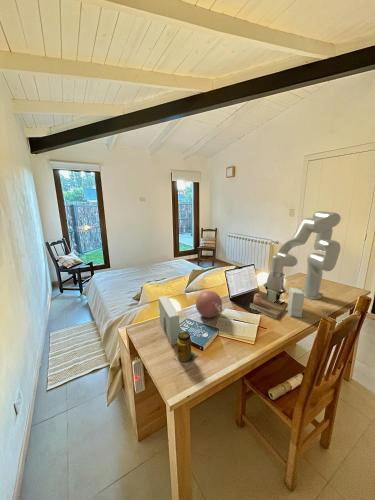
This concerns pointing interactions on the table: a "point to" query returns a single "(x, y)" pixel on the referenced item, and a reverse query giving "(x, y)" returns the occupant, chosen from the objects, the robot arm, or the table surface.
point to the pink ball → (209, 304)
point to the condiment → (184, 349)
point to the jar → (257, 299)
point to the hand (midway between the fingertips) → (273, 297)
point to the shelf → (269, 308)
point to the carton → (272, 295)
